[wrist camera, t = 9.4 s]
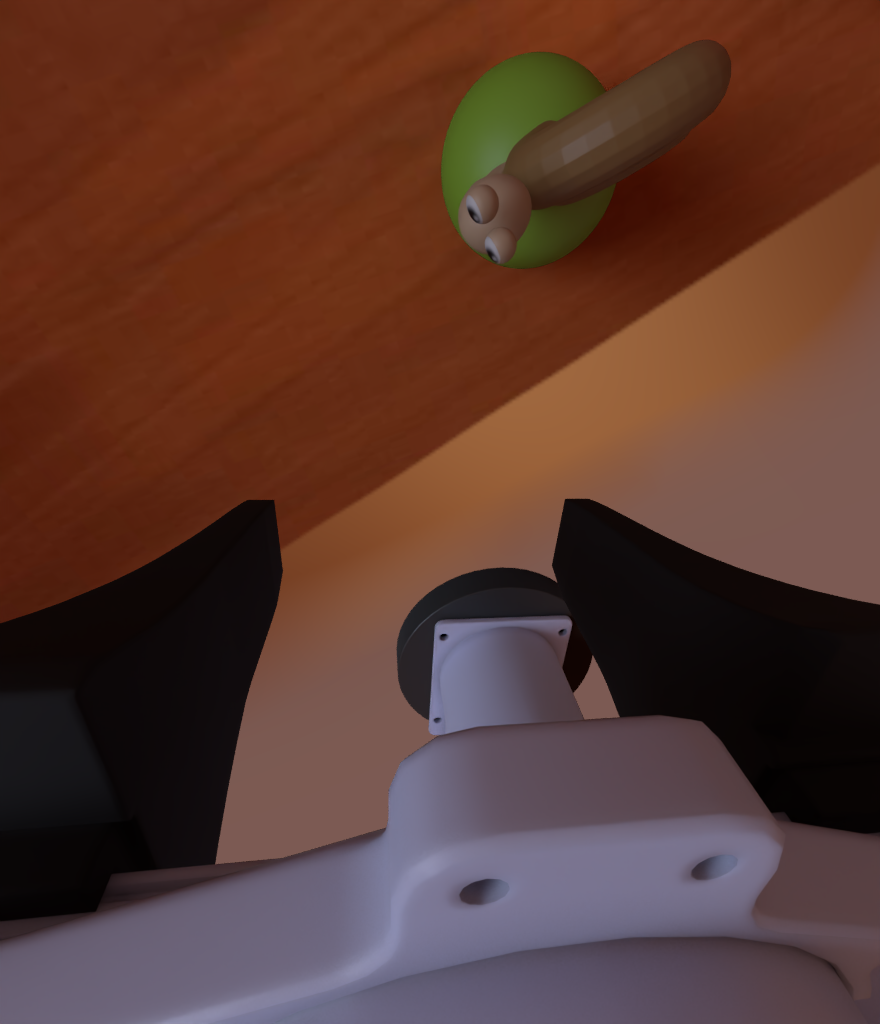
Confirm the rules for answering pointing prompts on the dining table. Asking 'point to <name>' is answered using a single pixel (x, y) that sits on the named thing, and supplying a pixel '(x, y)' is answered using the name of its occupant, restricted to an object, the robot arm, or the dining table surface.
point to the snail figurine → (564, 146)
